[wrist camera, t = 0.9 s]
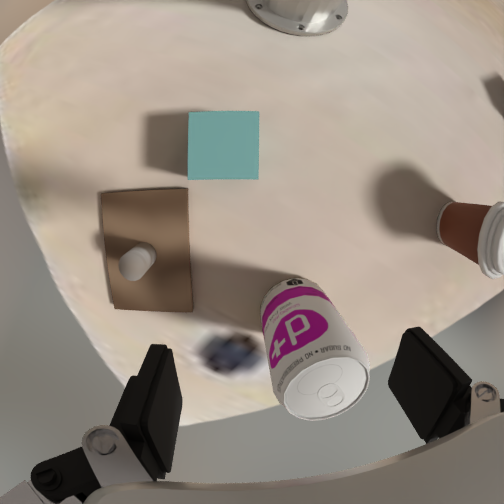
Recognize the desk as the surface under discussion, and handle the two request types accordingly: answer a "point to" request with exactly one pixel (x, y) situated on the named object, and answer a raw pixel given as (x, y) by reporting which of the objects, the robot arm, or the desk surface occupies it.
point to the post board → (161, 233)
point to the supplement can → (311, 352)
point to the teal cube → (223, 145)
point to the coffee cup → (475, 234)
